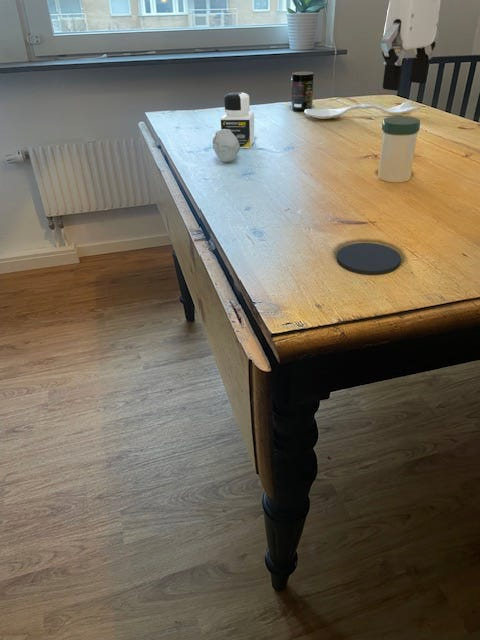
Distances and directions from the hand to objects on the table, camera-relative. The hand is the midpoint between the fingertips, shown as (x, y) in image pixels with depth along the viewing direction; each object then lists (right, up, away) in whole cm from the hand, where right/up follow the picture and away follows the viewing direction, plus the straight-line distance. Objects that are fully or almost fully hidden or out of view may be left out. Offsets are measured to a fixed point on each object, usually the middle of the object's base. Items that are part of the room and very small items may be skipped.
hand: (404, 85), depth 92 cm
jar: (+1, -14, +9) cm, 17 cm away
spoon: (+5, +16, +54) cm, 56 cm away
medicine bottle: (-31, +1, +35) cm, 46 cm away
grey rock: (-33, -7, +23) cm, 41 cm away
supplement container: (-11, +23, +66) cm, 71 cm away
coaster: (-12, -34, -20) cm, 41 cm away
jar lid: (0, -5, +3) cm, 6 cm away
